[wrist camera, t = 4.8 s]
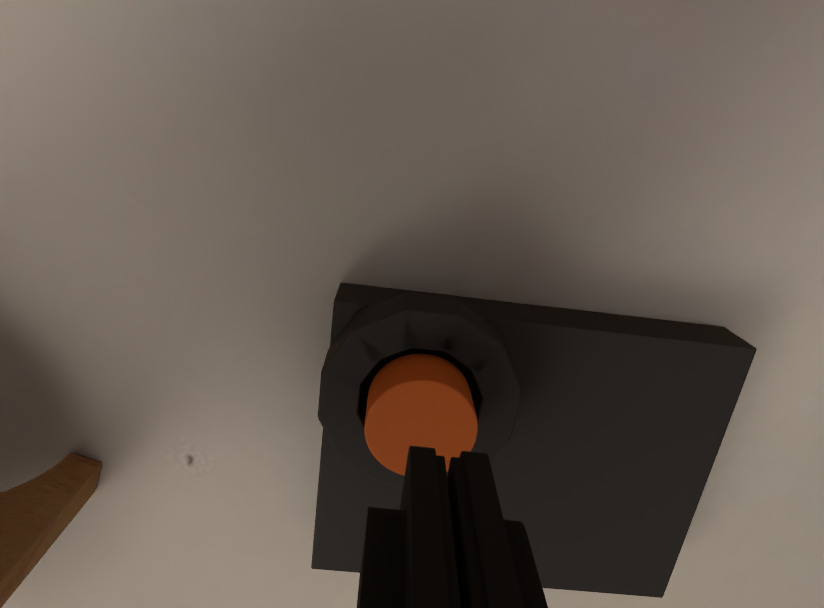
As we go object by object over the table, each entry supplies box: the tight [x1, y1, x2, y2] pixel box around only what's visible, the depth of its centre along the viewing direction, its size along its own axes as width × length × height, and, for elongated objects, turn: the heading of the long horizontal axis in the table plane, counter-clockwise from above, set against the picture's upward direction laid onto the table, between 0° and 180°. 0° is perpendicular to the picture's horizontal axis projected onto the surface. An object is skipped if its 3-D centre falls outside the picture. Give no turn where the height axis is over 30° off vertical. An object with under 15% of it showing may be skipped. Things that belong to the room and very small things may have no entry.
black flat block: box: [311, 283, 756, 598], centre depth 19 cm, size 14×12×4 cm
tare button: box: [364, 354, 478, 476], centre depth 16 cm, size 3×3×2 cm
